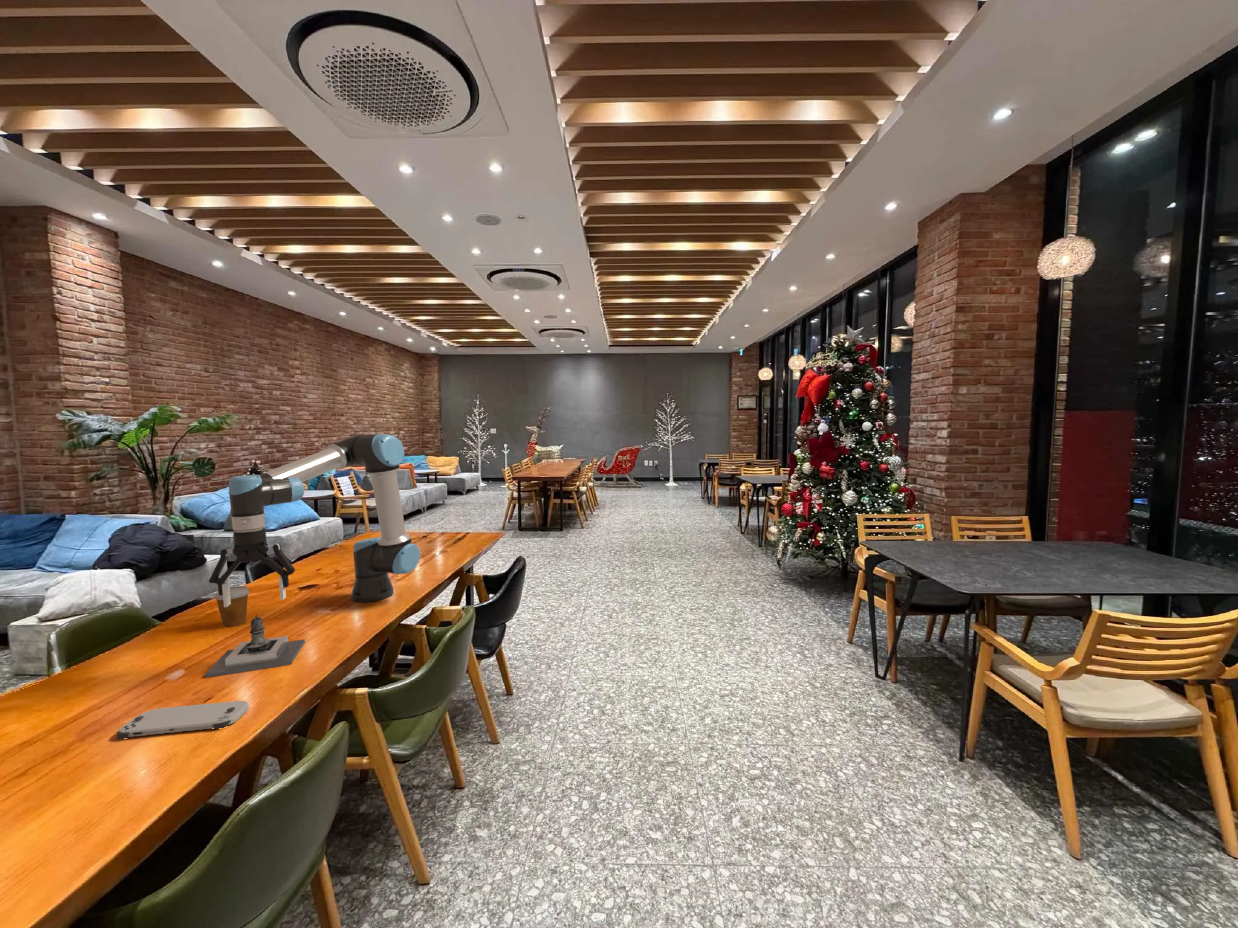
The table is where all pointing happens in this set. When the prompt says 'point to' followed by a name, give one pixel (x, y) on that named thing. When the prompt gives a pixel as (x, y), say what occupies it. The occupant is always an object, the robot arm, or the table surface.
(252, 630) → the dark grey chess piece
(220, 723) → the handheld gaming console
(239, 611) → the disposable coffee cup
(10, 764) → the table surface
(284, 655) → the collar plate
